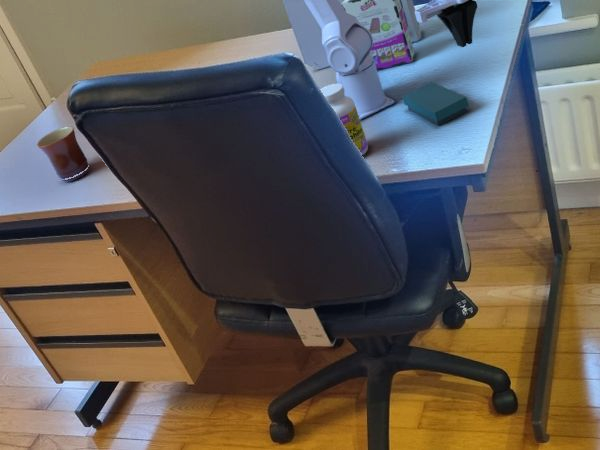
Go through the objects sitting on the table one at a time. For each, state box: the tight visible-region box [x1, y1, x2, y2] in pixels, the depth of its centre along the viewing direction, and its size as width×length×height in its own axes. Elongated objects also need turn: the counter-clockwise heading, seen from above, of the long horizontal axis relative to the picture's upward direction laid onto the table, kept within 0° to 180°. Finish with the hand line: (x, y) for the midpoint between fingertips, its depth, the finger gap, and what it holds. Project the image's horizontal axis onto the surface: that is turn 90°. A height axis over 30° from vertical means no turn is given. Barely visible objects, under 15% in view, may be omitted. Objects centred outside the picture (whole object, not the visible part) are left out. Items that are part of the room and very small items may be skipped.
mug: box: [36, 126, 90, 183], centre depth 176 cm, size 12×9×10 cm
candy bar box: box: [342, 0, 416, 71], centre depth 165 cm, size 11×5×16 cm, turn 76°
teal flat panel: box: [401, 81, 469, 127], centre depth 141 cm, size 12×6×3 cm, turn 22°
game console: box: [281, 0, 422, 71], centre depth 176 cm, size 6×27×20 cm, turn 83°
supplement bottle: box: [319, 83, 369, 156], centre depth 136 cm, size 7×7×13 cm
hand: (464, 44), depth 138 cm, fingers closed
